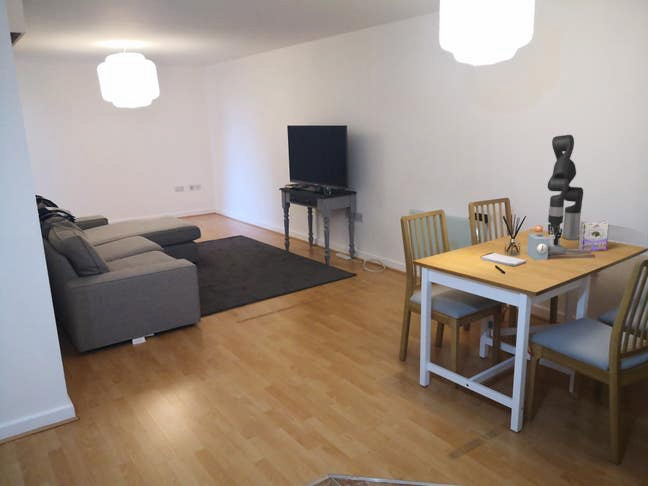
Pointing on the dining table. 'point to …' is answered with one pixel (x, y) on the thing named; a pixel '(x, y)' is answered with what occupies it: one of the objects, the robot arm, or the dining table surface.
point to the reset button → (538, 228)
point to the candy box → (593, 235)
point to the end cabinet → (537, 246)
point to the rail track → (571, 254)
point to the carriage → (554, 247)
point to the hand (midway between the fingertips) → (553, 243)
